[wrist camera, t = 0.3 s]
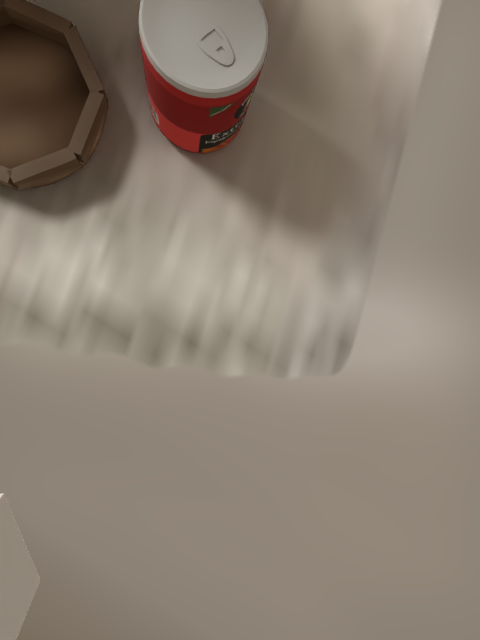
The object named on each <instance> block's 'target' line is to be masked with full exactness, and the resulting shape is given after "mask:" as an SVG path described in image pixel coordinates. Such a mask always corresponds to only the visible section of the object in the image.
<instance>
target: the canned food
mask: <svg viewBox="0 0 480 640" xmlns="http://www.w3.org/2000/svg"><path fill="white" fill-rule="evenodd" d="M139 35H140V44H141V51H142V58H143V64H144V71H145V77H146V84H147V91H148V97H149V104H150V109H151V113H152V116H153V118H154V121H155V123H156V125H157V126H158V128H159V129H160V131H161V132H162V133H163V134H164V135H165V136H166V137H167V138H168V139H169V140H170V141H171V142H172V143H174V144H175V145H177V146H178V147H180V148H182V149H184V150H187V151H191V152H195V153H207V152H212V151H215V150H218V149H220V148H223V147H224V146H225V145H227V144H228V143H230V142H231V141H232V140H233V139H234V137H235V136H236V135H237V133H238V131H239V130H240V128H241V125H242V122H243V119H244V117H245V114H246V111H247V108H248V106H249V103H250V100H251V97H252V95H253V92H254V89H255V86H256V84H257V81H258V78H259V75H260V72H261V69H262V67H263V63H264V60H265V57H266V52H267V45H268V24H267V19H266V15H265V11H264V9H263V7H262V5H261V2H260V0H141V1H140V9H139Z"/></svg>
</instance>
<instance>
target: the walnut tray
mask: <svg viewBox="0 0 480 640" xmlns="http://www.w3.org/2000/svg"><path fill="white" fill-rule="evenodd" d="M107 102H108V100H107V97H106V94H105V91H104V88H103V86H102V84H101V82H100V80H99V77H98V75H97V73H96V71H95V68H94V66H93V64H92V62H91V59H90V57H89V55H88V53H87V50H86V48H85V46H84V44H83V41H82V39H81V37H80V35H79V32H78V30H77V28H76V26H74V27H73V24H72V22H71V21H68V20H66V19H64V18H62V17H60V16H58V15H56V14H53V13H51V12H49V11H47V10H45V9H43V8H40V7H38V6H36V5H34V4H32V3H30V2H28V1H25V0H0V184H1V185H6V186H8V187H11V188H13V189H16V190H18V188H21V189H22V190H25V189H28V188H33V187H41V186H46V185H49V184H53V183H56V182H58V181H60V180H62V179H65V178H66V177H68V176H70V175H71V174H73V173H74V172H76V171H77V170H78V169H79V168H82V166H83V164H84V163H85V164H86V162H87V160H88V159H89V158H90V156H91V155H92V153H93V152H94V150H95V148H96V146H97V144H98V142H99V140H100V137H101V133H102V130H103V124H104V117H105V114H106V111H107V109H108V104H107Z"/></svg>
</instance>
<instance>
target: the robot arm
mask: <svg viewBox="0 0 480 640" xmlns="http://www.w3.org/2000/svg"><path fill="white" fill-rule="evenodd" d="M39 582H40V577H39V575H38V573H37V570H36V568H35V566H34V563H33V561H32V559H31V556H30V554H29V552H28V549H27V547H26V544H25V542H24V540H23V537H22V535H21V532H20V530H19V528H18V525H17V523H16V521H15V518H14V516H13V513H12V511H11V509H10V507H9V504H8V502H7V499H6V497H5V495H4V493H3V494H0V640H16V639H17V636H18V634H19V631H20V629H21V627H22V624H23V621H24V619H25V617H26V614H27V612H28V609H29V607H30V604H31V602H32V599H33V597H34V595H35V592H36V590H37V587H38V585H39Z"/></svg>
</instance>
